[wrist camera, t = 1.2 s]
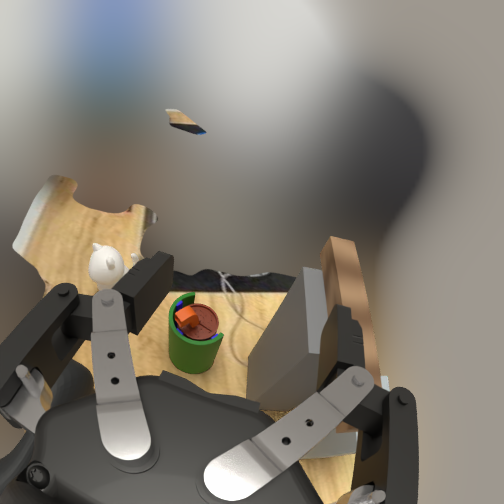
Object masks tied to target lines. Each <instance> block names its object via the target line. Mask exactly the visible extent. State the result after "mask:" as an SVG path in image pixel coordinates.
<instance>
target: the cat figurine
mask: <svg viewBox="0 0 504 504" xmlns="http://www.w3.org/2000/svg"><path fill="white" fill-rule="evenodd" d="M93 251H94V252H93V254H92V256H91V259H90V263H89V276H90V278H91V279H92V280H93V281H94V282H96V283H97V287H98V290H99V291H100V290H103V289H111V288H112V287H113V286H114V285H115V284H116V283H117V282H118V281H119V280H120V279H121V278H122V277H123V276H124V275H125V274H126V273H127V272H128V271H129V269H128V268H127V267H126V266H125V265H124V261H123V259H122V256H121V255H120V253H119V252H118V251H117V250H116V249H114V248H113V247H110V246H101V245H99V244H97V243H93ZM131 258H132V260H133V266H134V265H135V264H136V263H137V262H138V261H139V258H138V256H137V255H136V254H135V253H132V254H131Z"/></svg>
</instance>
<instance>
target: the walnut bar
mask: <svg viewBox="0 0 504 504" xmlns="http://www.w3.org/2000/svg"><path fill="white" fill-rule="evenodd" d="M320 258H321V265H322V272H323V280H324V288H325V296H326V304H327V313H328V317H329V315H330V313H331V311H332V309H333V307H334V305H335V304H339V305H343V306H346V307H350V308H351V315H352V319H354V320H358V322H359V324H360V326H361V327H362V331H363V342H364V344H363V345H364V354H365V369H366V370H367V371H369V372H370V374H371V375H372V377H373V379H374V384H376V385H377V386H379V387H381V388H382V383H381V376H380V368H379V361H378V355H377V348H376V343H375V336H374V331H373V325H372V320H371V314H370V310H369V304H368V300H367V295H366V290H365V286H364V281H363V277H362V272H361V268H360V264H359V260H358V256H357V252H356V248H355V244H354V242H353V241H349V240H345V239H340V238H337V237H332V236H330V238H329V240H328V241H327V243H326V244H325V246H324V248H323V250H322V251H321V253H320ZM349 432H358V429H357V428H355V427H353V426H351V425H349V424H347V423H345V422H343V421H342V422H341V423H340V424H339V425H338V426H337V427H336V433H349Z"/></svg>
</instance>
